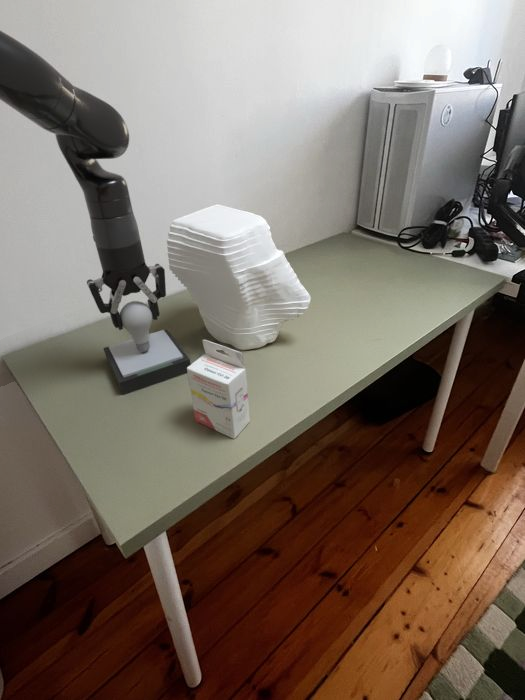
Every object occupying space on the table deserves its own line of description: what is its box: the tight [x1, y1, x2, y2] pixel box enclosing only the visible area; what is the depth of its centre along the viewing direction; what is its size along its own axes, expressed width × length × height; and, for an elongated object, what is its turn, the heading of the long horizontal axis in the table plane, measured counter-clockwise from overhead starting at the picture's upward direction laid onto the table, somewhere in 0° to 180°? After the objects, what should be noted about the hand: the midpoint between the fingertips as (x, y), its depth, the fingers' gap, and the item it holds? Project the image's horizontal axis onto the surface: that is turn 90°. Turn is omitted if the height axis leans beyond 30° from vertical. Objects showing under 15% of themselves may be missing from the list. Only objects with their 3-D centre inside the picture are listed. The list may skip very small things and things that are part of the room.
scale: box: [102, 328, 192, 396], centre depth 89 cm, size 14×14×4 cm
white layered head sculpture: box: [166, 203, 312, 351], centre depth 91 cm, size 21×27×26 cm
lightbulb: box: [119, 300, 153, 352], centre depth 85 cm, size 6×6×11 cm
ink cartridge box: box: [187, 339, 251, 440], centre depth 70 cm, size 9×5×15 cm, turn 58°
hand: (137, 322), depth 84 cm, fingers closed on lightbulb, 6 cm apart
